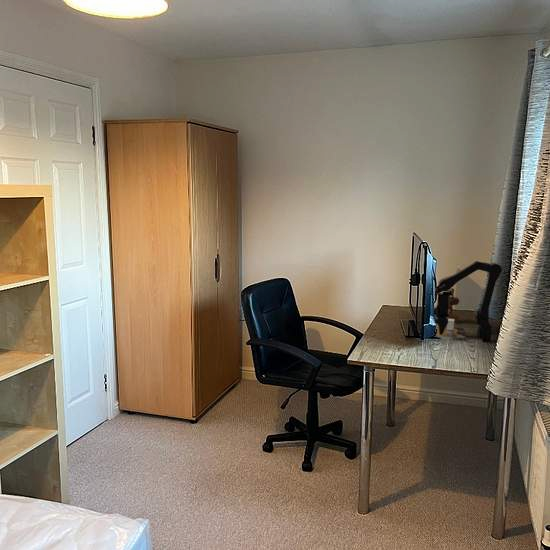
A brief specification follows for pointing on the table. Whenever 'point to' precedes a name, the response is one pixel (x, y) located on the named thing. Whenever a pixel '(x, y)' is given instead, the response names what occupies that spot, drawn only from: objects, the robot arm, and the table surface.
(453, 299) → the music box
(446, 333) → the matte amber box
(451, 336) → the plate
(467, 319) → the table surface
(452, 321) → the matte ivory cube
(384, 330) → the table surface
